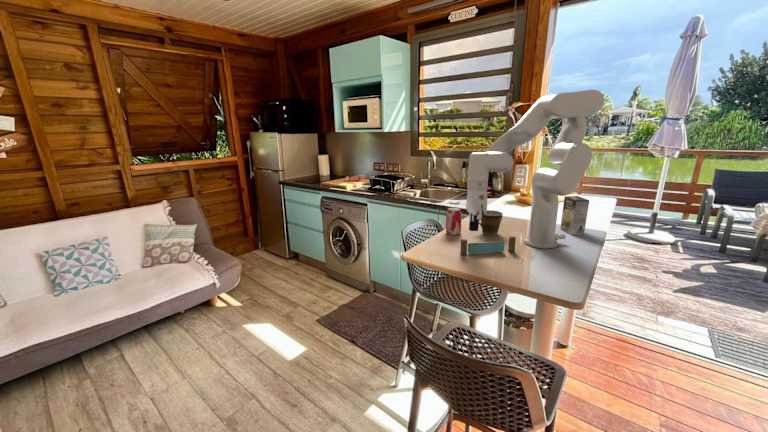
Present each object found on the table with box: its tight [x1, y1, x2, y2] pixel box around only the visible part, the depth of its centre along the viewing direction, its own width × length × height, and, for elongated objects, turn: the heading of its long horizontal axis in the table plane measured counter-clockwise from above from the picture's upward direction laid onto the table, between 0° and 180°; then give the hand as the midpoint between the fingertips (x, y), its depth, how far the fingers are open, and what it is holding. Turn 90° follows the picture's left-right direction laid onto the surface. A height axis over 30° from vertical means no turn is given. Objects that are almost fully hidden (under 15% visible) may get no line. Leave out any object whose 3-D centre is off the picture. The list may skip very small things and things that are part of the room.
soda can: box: [445, 206, 462, 236], centre depth 142 cm, size 7×7×12 cm
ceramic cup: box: [479, 209, 504, 237], centre depth 141 cm, size 13×10×10 cm
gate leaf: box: [467, 240, 505, 255], centre depth 118 cm, size 14×2×4 cm, turn 96°
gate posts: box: [459, 235, 517, 257], centre depth 118 cm, size 22×2×6 cm, turn 96°
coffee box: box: [559, 195, 590, 236], centre depth 139 cm, size 9×6×16 cm
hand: (473, 230), depth 121 cm, fingers closed
